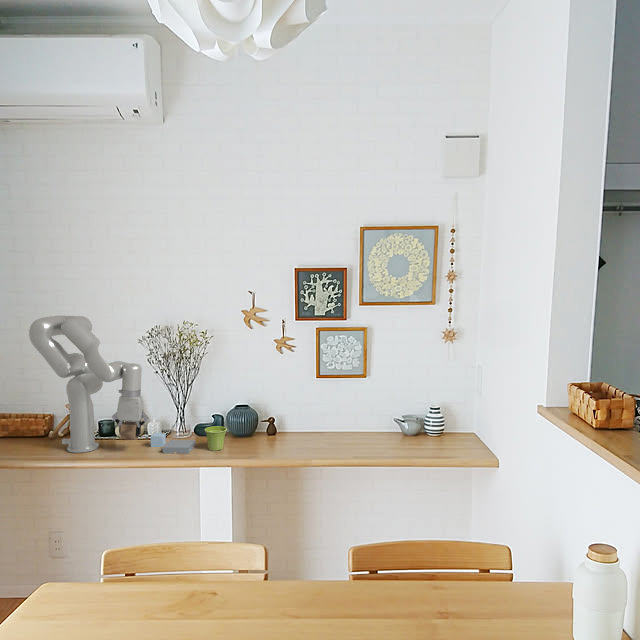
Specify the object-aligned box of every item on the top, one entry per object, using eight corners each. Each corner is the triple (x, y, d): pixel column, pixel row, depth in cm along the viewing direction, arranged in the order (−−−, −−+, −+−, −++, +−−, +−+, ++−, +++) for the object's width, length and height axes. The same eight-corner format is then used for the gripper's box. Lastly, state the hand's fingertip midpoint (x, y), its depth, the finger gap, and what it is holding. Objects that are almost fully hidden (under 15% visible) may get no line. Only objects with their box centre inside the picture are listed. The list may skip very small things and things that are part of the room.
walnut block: (120, 438, 249) (120, 424, 248) (125, 434, 255) (125, 420, 254) (134, 439, 249) (134, 425, 248) (139, 435, 255) (139, 422, 254)
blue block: (150, 447, 257) (150, 436, 257) (154, 444, 262) (154, 433, 262) (162, 447, 257) (162, 436, 257) (165, 444, 262) (165, 433, 262)
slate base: (162, 453, 249) (162, 447, 249) (170, 445, 260) (170, 439, 260) (189, 453, 249) (188, 447, 249) (195, 445, 260) (195, 440, 260)
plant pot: (229, 446, 259) (229, 426, 258) (224, 452, 250) (223, 432, 249) (208, 445, 260) (208, 425, 259) (202, 452, 251) (201, 431, 250)
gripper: (107, 393, 246) (106, 436, 248) (148, 396, 246) (147, 439, 248) (114, 389, 254) (112, 431, 256) (154, 392, 253) (152, 434, 255)
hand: (129, 434), depth 252 cm, fingers closed on walnut block, 6 cm apart
